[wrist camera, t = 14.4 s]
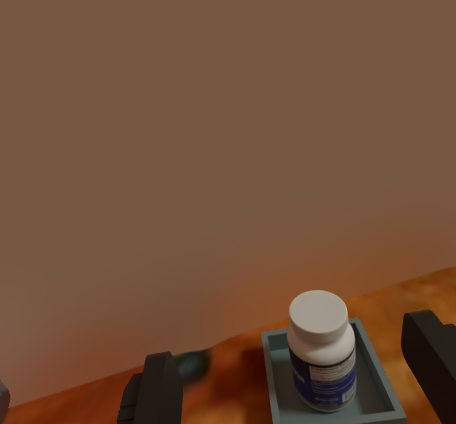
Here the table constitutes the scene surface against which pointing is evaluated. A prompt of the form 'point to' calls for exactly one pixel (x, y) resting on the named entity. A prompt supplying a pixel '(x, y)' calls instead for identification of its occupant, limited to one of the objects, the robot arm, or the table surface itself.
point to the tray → (347, 417)
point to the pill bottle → (322, 351)
